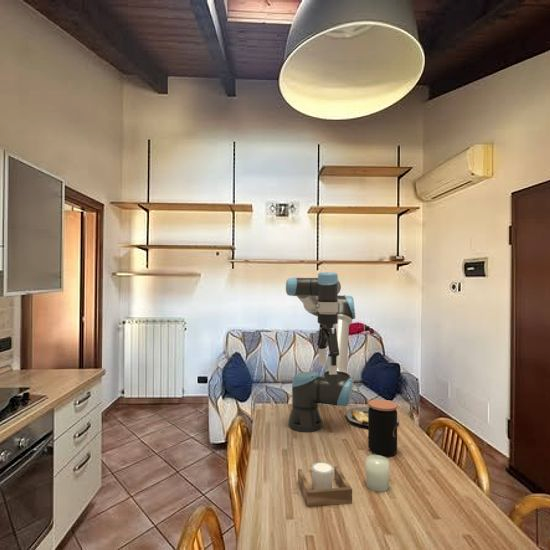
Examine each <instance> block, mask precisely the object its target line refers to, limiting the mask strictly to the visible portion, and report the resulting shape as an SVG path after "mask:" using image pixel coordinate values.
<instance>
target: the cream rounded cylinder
mask: <svg viewBox="0 0 550 550" xmlns="http://www.w3.org/2000/svg"><path fill="white" fill-rule="evenodd" d="M365 465H366V466H365V468H366V469H365V471H366V472H365V474H366V475H365V476H366V477H365V481H366V482H365V484H366V487H367V488H368V489H370V490H372V491H373V492H379V493H381V492H382V493H383V492H387V491H388V490H389V489H390V461H389V459H388V457H383V456H380V455H376V454H370V455H368V456H366V459H365Z"/></svg>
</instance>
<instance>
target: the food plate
mask: <svg viewBox="0 0 550 550" xmlns="http://www.w3.org/2000/svg"><path fill="white" fill-rule="evenodd" d="M368 409H369V406H363V407H362V406H358V407H352V408H349V409H347V410H346V411H345V412H344V413H345V415H346V417H347V419H348V420H349V422H351V423H354V424H357V425H361V426H365V427H368V415H366V414H368ZM399 422H400V419H399V417H397V425H398V424H399Z"/></svg>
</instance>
